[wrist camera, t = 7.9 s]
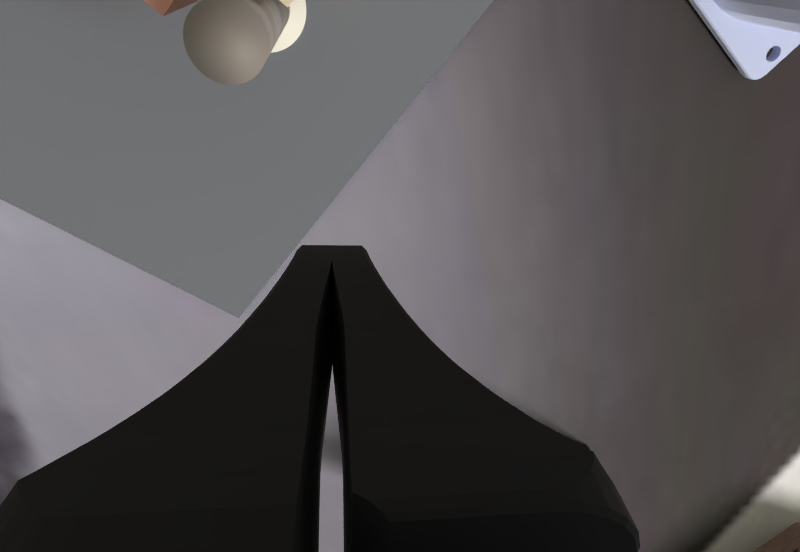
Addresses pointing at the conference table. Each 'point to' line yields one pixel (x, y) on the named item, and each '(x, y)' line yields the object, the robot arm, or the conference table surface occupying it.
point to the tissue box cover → (784, 541)
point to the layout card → (204, 128)
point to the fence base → (233, 36)
